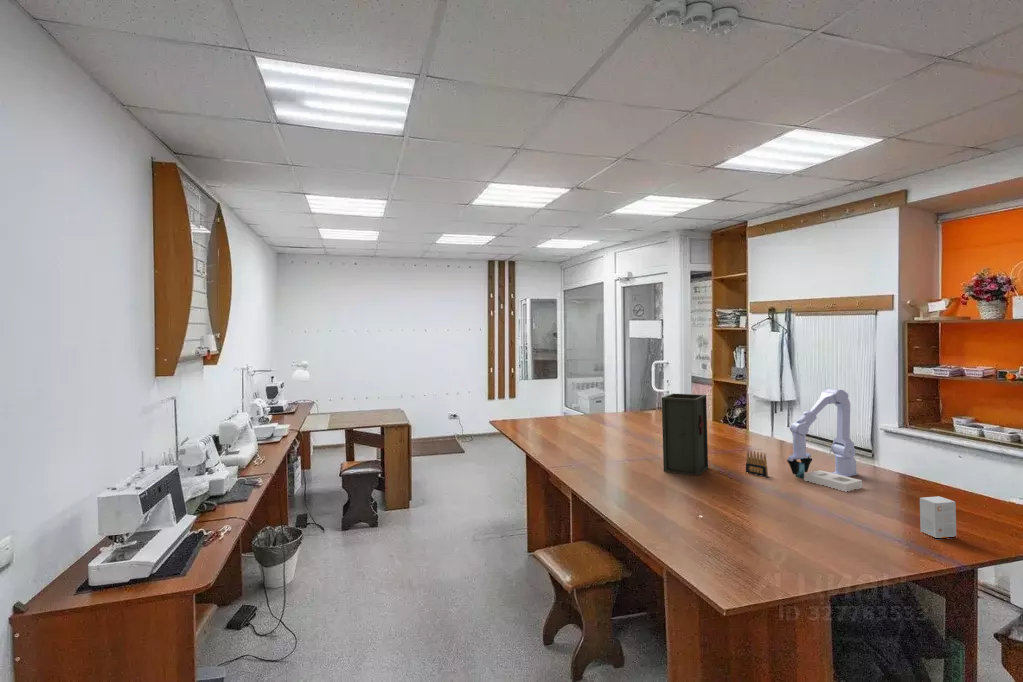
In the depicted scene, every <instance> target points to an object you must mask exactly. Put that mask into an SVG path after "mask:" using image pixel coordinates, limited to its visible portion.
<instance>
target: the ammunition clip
mask: <svg viewBox="0 0 1023 682" xmlns="http://www.w3.org/2000/svg"><path fill="white" fill-rule="evenodd" d="M767 462H768V461H767V454H766V453H765V452H764V453H763V452H762V451H761V452H760V453H759V451H752V450H750V451H749V449H747V450H746V462H745V473H746V472H748V474H751V473H752V475H755V474H757V475H756V476H760V475H762V477H765V476H766V477H768V476H769V472H768V466H767V465H768V463H767Z"/></svg>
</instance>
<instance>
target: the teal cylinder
mask: <svg viewBox="0 0 1023 682" xmlns="http://www.w3.org/2000/svg"><path fill="white" fill-rule="evenodd" d="M799 462H800V463H799V466H798V474H797V475H795V478H797V477H800V478H799V479H804V474H805V473H806V472H805V469H804V463H802V462H801V461H799Z"/></svg>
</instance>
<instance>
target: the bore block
mask: <svg viewBox="0 0 1023 682" xmlns="http://www.w3.org/2000/svg"><path fill="white" fill-rule="evenodd" d="M804 480H805V481H804ZM803 481H804V482H807V481H809V482H808V483H811V482H812V483H811V484H814V483H816V484H815V485H818V484H820V485H819V486H822V485H824V486H823V487H825V486H828V487H827V488H829V487H831V488H830V489H833V488H835V489H834V490H836V489H838V490H837V491H840V490H841V492H844V491H845V493H848V492H852V491H855V490H854V489H856V490H859V489H863V480H862V479H858V478H854V477H851V476H849V477H846V476H842V475H838V474H834V473H831V472H829V471H825V470H821V469H820V470H814V471H810V472H809V471H808V472H807V473H806V472H805V474H804V478H803ZM851 490H852V491H851ZM847 491H848V492H847Z"/></svg>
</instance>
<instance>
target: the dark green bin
mask: <svg viewBox="0 0 1023 682" xmlns="http://www.w3.org/2000/svg"><path fill="white" fill-rule="evenodd" d="M707 411H708V410H707V395H706V394H690V393H671V394H668V395H665V396H663V397H661V421H662V424H661V425H662V453H663V454H662V457H663V462H662V463H663V464H662V465H663V472H665V471H670V472H669V473H673V472H677V473H676V474H680V473H682V474H681V475H687V474H689V475H688V476H694V475H697V476H696V477H700V476H701V475H700V474H701V473H702V472H703V473H704V472H705V471H706V470H708V468H709V450H708V412H707ZM703 473H702V474H703Z"/></svg>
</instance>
